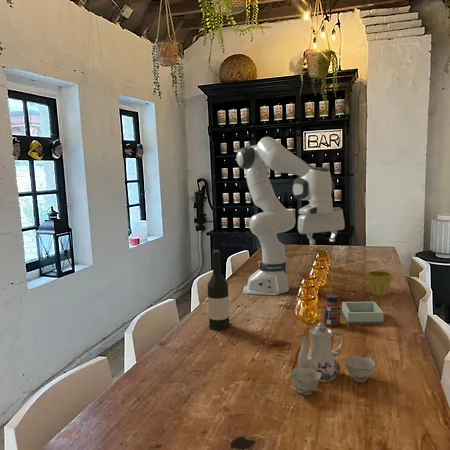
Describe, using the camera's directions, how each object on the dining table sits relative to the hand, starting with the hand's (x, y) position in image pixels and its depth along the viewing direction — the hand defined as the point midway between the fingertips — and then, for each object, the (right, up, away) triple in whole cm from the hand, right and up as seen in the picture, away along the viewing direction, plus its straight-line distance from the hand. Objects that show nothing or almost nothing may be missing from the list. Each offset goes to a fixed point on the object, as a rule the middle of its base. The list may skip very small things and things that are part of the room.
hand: (322, 243), depth 169 cm
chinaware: (-10, -37, -48) cm, 61 cm away
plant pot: (+33, -25, +28) cm, 49 cm away
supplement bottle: (+2, -31, -7) cm, 32 cm away
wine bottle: (-41, -32, -5) cm, 52 cm away
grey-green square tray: (+15, -29, -2) cm, 33 cm away
